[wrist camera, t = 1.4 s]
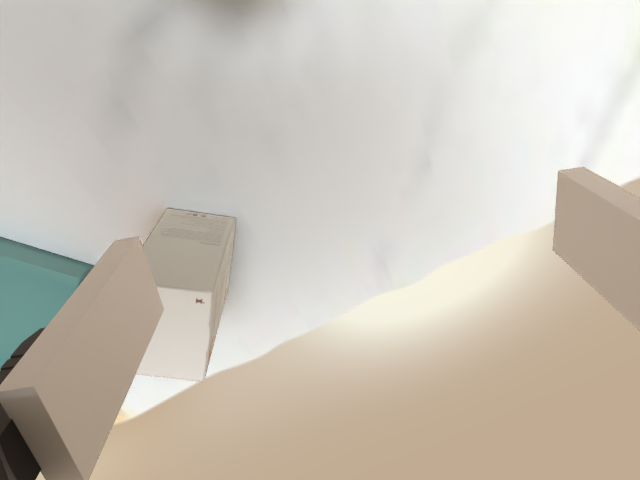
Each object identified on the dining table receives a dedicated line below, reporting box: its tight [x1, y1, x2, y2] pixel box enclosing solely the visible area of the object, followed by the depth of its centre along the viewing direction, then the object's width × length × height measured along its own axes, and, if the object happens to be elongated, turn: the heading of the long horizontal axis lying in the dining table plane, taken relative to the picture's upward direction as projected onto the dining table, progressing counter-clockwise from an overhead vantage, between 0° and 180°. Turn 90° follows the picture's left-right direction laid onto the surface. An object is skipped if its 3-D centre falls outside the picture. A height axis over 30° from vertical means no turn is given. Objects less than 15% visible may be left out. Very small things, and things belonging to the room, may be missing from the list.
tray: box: [0, 237, 94, 371], centre depth 46 cm, size 14×16×3 cm
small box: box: [136, 208, 236, 382], centre depth 39 cm, size 8×6×13 cm
